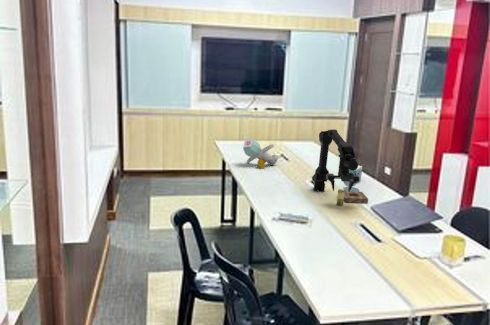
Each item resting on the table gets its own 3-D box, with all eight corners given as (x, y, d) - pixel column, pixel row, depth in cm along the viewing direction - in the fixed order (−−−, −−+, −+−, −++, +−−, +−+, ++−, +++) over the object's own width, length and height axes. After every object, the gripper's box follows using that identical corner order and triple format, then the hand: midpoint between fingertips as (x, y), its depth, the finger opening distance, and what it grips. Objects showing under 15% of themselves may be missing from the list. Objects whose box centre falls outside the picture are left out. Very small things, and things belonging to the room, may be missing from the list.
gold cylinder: (337, 205, 267) (338, 191, 265) (335, 203, 271) (337, 189, 268) (343, 206, 267) (345, 191, 265) (342, 203, 271) (343, 189, 269)
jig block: (344, 202, 273) (345, 198, 272) (339, 195, 286) (340, 190, 286) (367, 203, 273) (368, 198, 272) (361, 196, 287) (362, 191, 286)
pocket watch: (358, 172, 301) (364, 179, 286) (356, 188, 304) (362, 195, 289) (343, 172, 301) (348, 178, 286) (341, 187, 303) (346, 194, 289)
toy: (288, 147, 343) (258, 128, 330) (286, 166, 332) (255, 147, 319) (262, 163, 365) (233, 146, 352) (259, 181, 355) (229, 165, 342)
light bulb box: (356, 183, 314) (358, 168, 311) (347, 181, 317) (348, 167, 314) (361, 180, 323) (362, 165, 320) (352, 178, 326) (353, 164, 323)
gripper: (330, 168, 255) (328, 195, 259) (363, 170, 255) (360, 196, 259) (327, 163, 266) (324, 189, 270) (358, 165, 266) (355, 190, 270)
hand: (341, 191), depth 267 cm, fingers open, 9 cm apart
